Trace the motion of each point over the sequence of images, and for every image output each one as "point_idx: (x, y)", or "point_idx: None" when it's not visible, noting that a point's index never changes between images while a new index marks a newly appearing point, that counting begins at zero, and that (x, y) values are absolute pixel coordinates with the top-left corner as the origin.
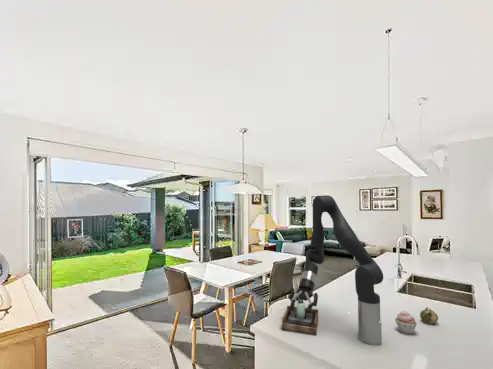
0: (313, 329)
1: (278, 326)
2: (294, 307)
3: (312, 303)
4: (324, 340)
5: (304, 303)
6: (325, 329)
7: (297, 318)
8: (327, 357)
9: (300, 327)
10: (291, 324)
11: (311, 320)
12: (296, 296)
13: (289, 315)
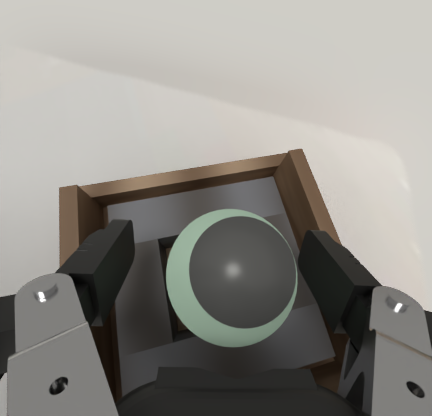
0: (97, 187)
1: None
2: None
3: (9, 310)
4: (46, 175)
5: (166, 270)
6: None
7: None
8: (31, 61)
9: (179, 173)
10: (236, 168)
11: None
12: (389, 347)
13: (334, 363)
